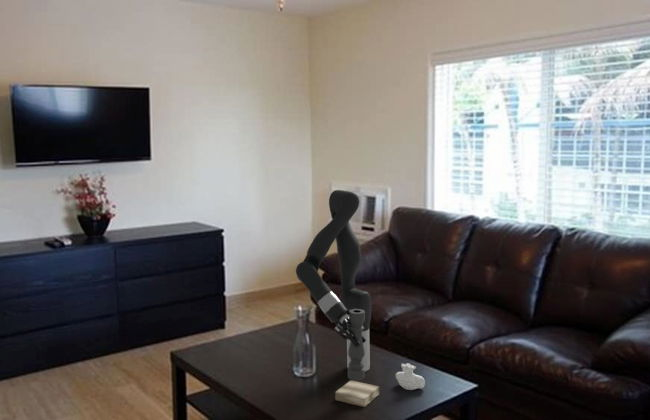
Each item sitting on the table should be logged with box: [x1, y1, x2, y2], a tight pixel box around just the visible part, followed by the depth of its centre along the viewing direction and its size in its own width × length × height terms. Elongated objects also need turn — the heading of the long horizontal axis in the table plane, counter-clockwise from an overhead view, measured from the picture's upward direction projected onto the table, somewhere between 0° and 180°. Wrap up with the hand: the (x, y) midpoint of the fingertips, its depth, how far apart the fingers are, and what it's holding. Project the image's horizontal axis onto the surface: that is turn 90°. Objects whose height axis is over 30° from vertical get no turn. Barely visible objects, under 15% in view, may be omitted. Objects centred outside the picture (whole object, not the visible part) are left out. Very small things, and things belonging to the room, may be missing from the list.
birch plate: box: [334, 379, 380, 408], centre depth 220 cm, size 12×12×3 cm
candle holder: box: [347, 309, 366, 382], centre depth 217 cm, size 6×6×25 cm
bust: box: [395, 362, 426, 391], centre depth 226 cm, size 12×8×11 cm
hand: (361, 344), depth 216 cm, fingers closed on candle holder, 4 cm apart
